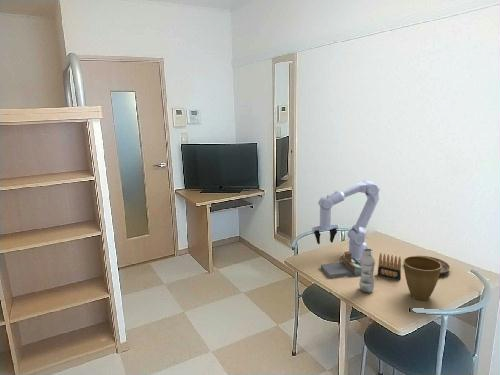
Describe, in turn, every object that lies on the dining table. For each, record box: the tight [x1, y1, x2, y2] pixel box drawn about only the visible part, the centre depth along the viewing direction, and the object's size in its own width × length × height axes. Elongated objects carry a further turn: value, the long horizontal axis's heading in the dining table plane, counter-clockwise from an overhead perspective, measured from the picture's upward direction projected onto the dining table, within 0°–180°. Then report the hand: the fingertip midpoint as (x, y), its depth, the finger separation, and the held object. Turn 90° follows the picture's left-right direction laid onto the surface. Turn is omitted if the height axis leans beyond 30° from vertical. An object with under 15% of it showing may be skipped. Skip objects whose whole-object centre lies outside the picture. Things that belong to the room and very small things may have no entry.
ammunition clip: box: [376, 252, 402, 281], centre depth 170 cm, size 11×2×12 cm, turn 56°
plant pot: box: [403, 255, 442, 301], centre depth 152 cm, size 15×15×16 cm
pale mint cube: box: [352, 263, 361, 270], centre depth 177 cm, size 4×4×3 cm
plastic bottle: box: [358, 248, 376, 293], centre depth 158 cm, size 6×7×20 cm
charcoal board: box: [320, 261, 354, 279], centre depth 179 cm, size 12×12×2 cm
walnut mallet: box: [340, 250, 355, 272], centre depth 179 cm, size 2×13×8 cm, turn 11°
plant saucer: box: [421, 255, 451, 276], centre depth 178 cm, size 21×21×3 cm
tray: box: [352, 257, 361, 277], centre depth 180 cm, size 6×14×4 cm, turn 11°
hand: (324, 242), depth 190 cm, fingers open, 7 cm apart
